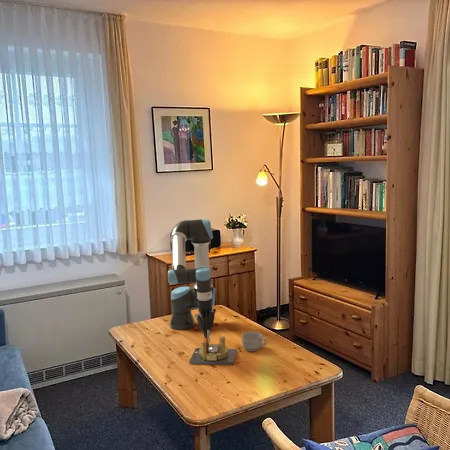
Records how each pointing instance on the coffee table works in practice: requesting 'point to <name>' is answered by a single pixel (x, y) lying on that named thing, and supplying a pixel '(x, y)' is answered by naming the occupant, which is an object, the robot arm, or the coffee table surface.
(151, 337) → the coffee table surface
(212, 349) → the housing
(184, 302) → the robot arm
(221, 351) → the ring nut
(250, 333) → the teacup
